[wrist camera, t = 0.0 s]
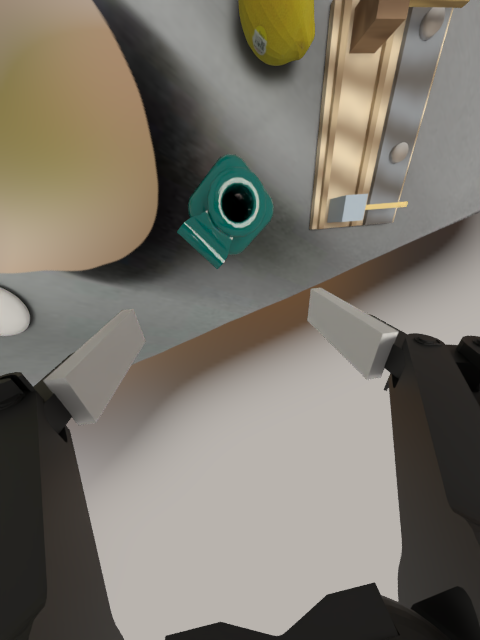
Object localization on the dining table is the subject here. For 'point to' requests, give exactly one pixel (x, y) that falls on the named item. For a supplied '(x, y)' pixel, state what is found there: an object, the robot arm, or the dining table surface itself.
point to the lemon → (278, 28)
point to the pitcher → (226, 210)
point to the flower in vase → (12, 314)
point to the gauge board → (374, 99)
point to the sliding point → (354, 207)
